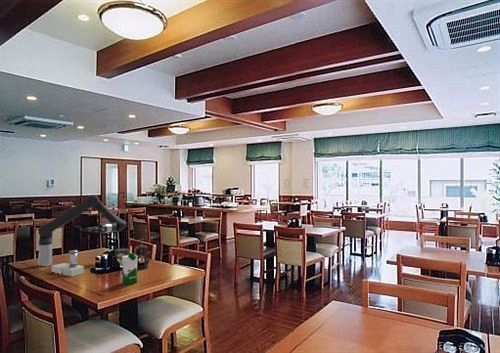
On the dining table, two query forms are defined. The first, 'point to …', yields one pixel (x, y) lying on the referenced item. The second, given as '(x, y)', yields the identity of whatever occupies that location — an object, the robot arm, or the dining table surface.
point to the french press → (141, 265)
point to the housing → (73, 258)
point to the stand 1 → (59, 268)
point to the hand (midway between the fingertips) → (87, 230)
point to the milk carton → (129, 269)
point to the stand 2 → (73, 271)
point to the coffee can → (121, 254)
